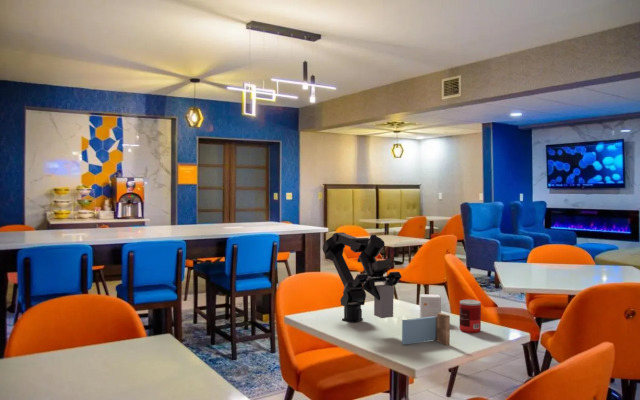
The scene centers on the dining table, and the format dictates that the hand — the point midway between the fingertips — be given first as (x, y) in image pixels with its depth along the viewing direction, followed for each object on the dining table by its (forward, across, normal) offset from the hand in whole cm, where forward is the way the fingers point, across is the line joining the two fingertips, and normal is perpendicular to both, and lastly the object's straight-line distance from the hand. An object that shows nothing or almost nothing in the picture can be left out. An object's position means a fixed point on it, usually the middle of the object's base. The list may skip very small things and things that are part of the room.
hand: (385, 298), depth 180 cm
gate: (+18, +6, 0) cm, 19 cm away
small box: (+3, +28, +17) cm, 33 cm away
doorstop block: (+4, 0, +6) cm, 7 cm away
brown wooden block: (+21, +13, -3) cm, 25 cm away
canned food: (+15, +33, +4) cm, 36 cm away
